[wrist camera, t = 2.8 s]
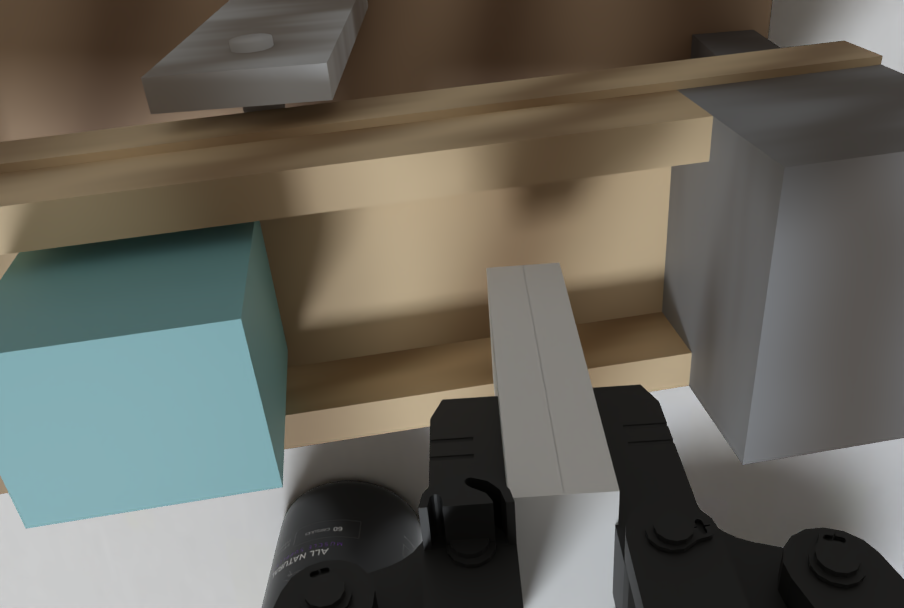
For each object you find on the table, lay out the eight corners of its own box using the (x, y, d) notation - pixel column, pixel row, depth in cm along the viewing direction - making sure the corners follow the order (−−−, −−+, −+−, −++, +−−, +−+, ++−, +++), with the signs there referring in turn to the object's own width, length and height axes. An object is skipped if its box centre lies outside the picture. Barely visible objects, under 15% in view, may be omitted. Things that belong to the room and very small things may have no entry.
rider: (256, 206, 19) (240, 318, 14) (287, 350, 21) (282, 487, 16) (30, 235, 18) (-56, 360, 14) (85, 380, 20) (26, 528, 16)
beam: (844, 40, 20) (1047, 122, 15) (801, 294, 24) (950, 436, 19) (-406, 191, 18) (-735, 358, 12) (-235, 449, 22) (-425, 668, 16)
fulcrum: (771, -93, 26) (961, -39, 16) (733, 245, 32) (855, 425, 23) (-153, -15, 27) (-476, 79, 17) (-17, 300, 33) (-201, 495, 23)
